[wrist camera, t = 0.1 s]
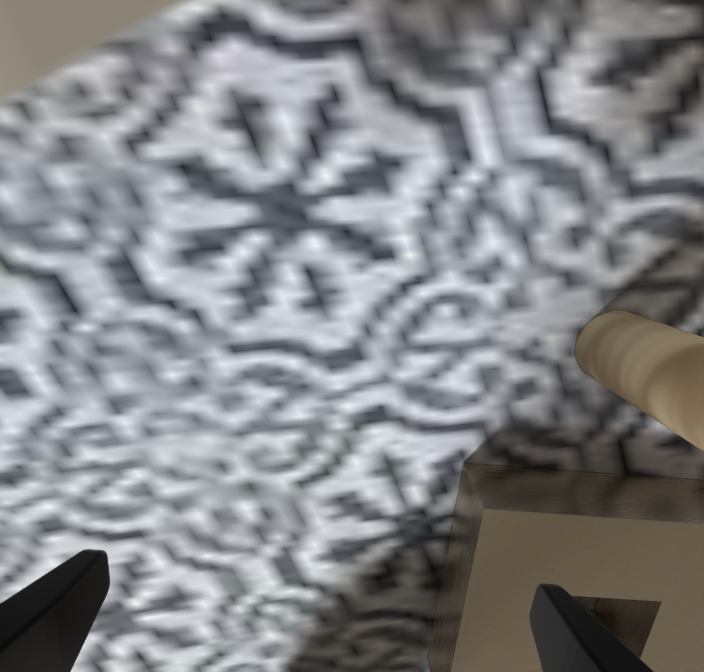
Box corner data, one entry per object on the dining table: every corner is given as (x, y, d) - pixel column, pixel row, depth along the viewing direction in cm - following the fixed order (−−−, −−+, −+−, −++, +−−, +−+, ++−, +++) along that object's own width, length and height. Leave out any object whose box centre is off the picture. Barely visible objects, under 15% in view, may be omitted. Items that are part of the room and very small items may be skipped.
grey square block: (647, 671, 29) (691, 739, 25) (427, 658, 29) (439, 725, 25) (721, 481, 25) (789, 530, 21) (463, 463, 24) (484, 508, 20)
